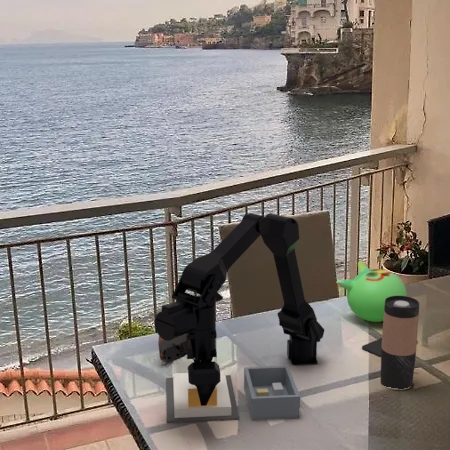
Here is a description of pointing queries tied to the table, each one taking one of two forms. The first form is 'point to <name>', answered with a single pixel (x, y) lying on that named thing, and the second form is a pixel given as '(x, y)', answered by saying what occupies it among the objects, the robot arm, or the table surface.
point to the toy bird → (371, 291)
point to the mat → (172, 418)
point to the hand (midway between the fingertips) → (202, 394)
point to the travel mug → (399, 341)
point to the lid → (190, 402)
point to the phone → (374, 347)
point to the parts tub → (271, 393)
